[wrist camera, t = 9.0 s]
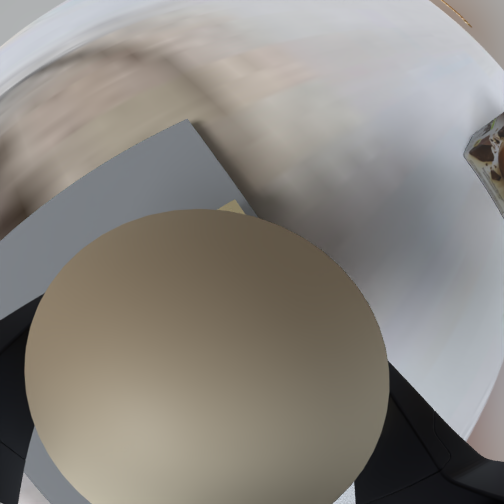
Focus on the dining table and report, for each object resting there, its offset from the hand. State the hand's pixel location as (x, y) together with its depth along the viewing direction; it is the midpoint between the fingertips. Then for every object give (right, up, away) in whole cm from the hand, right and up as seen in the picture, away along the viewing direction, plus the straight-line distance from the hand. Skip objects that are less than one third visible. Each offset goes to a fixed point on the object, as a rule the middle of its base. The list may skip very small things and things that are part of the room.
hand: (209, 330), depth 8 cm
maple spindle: (-1, -2, +6) cm, 7 cm away
